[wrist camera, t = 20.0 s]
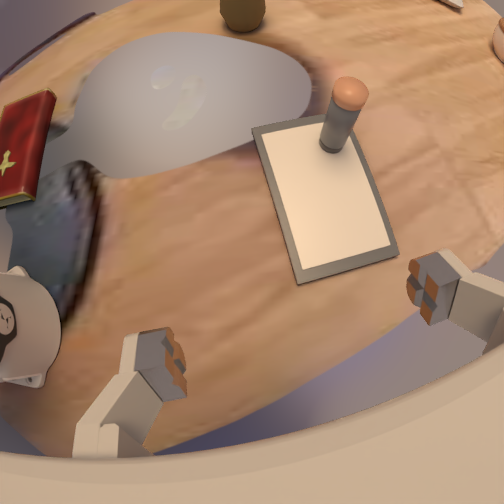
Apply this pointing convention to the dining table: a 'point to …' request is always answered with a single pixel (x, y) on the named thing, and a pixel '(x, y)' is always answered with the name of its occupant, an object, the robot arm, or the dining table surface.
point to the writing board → (323, 200)
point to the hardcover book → (23, 145)
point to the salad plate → (454, 3)
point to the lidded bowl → (499, 40)
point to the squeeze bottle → (242, 13)
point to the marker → (342, 113)
